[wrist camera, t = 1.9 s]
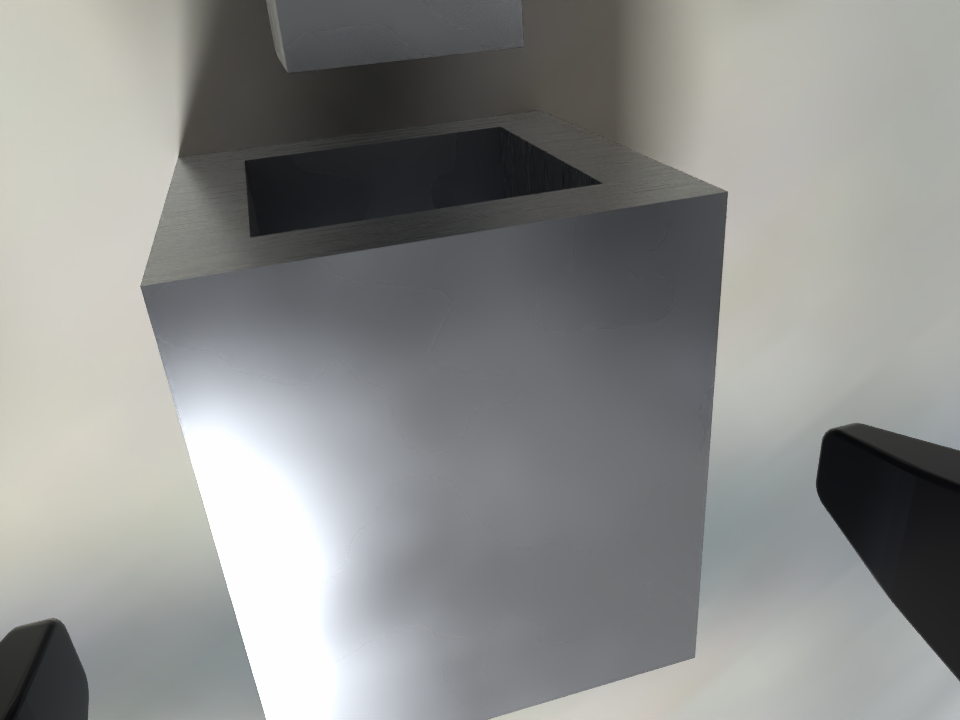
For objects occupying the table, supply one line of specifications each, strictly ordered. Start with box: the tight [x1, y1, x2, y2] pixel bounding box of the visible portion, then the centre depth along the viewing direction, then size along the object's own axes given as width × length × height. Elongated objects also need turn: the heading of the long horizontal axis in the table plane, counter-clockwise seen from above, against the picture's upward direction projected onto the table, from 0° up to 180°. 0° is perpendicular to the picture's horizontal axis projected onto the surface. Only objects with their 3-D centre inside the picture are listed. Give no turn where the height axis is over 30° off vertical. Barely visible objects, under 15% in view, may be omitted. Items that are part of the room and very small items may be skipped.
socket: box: [140, 111, 728, 720], centre depth 12 cm, size 7×6×6 cm
